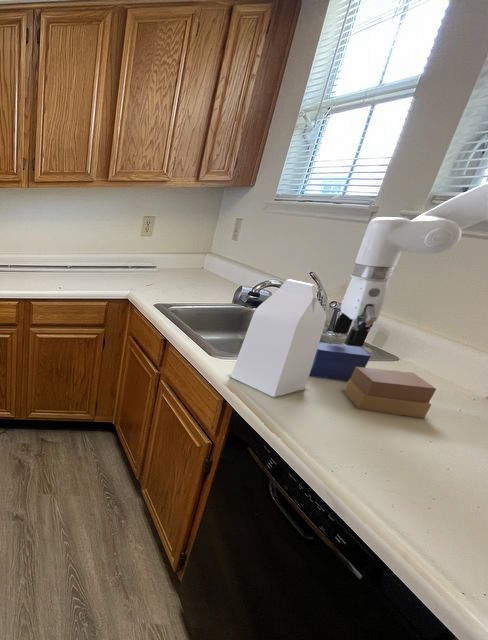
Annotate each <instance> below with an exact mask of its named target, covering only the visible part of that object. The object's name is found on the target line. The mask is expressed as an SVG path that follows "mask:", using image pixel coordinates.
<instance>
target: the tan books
mask: <svg viewBox="0 0 488 640" xmlns="http://www.w3.org/2000/svg"><path fill="white" fill-rule="evenodd" d="M436 391H437V388H436V387H435V386H433V385H432V384H430V383H429V382H427V381H426V380H425V379H423V378H422V377H420V376H419V375H417V374H416V373H415V372H409V371H399V370H391V369H383V368H382V369H381V368H372V367H365V368H364V367H355V369H354V372H353V374H352V376H351V378H350V379H349V381H347V383H346V386H345V388H344V391H343V392H344V393H345V394H346V396H347V397H348V398H349V399H350V400H351V402H352V403H353V404H354V405H355V406H356V408H357V409H361V410H368V411H373V412H380V413H388V414H393V415H401V416H406V417H412V418H413V417H414V418H419V419H420V418H422V419H425V417H426V416H427V414H428V412H429V410H430V408H431V407H432V403H430V401H432V400H431V399H432V398H433V396H434V394H435V392H436Z"/></svg>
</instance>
